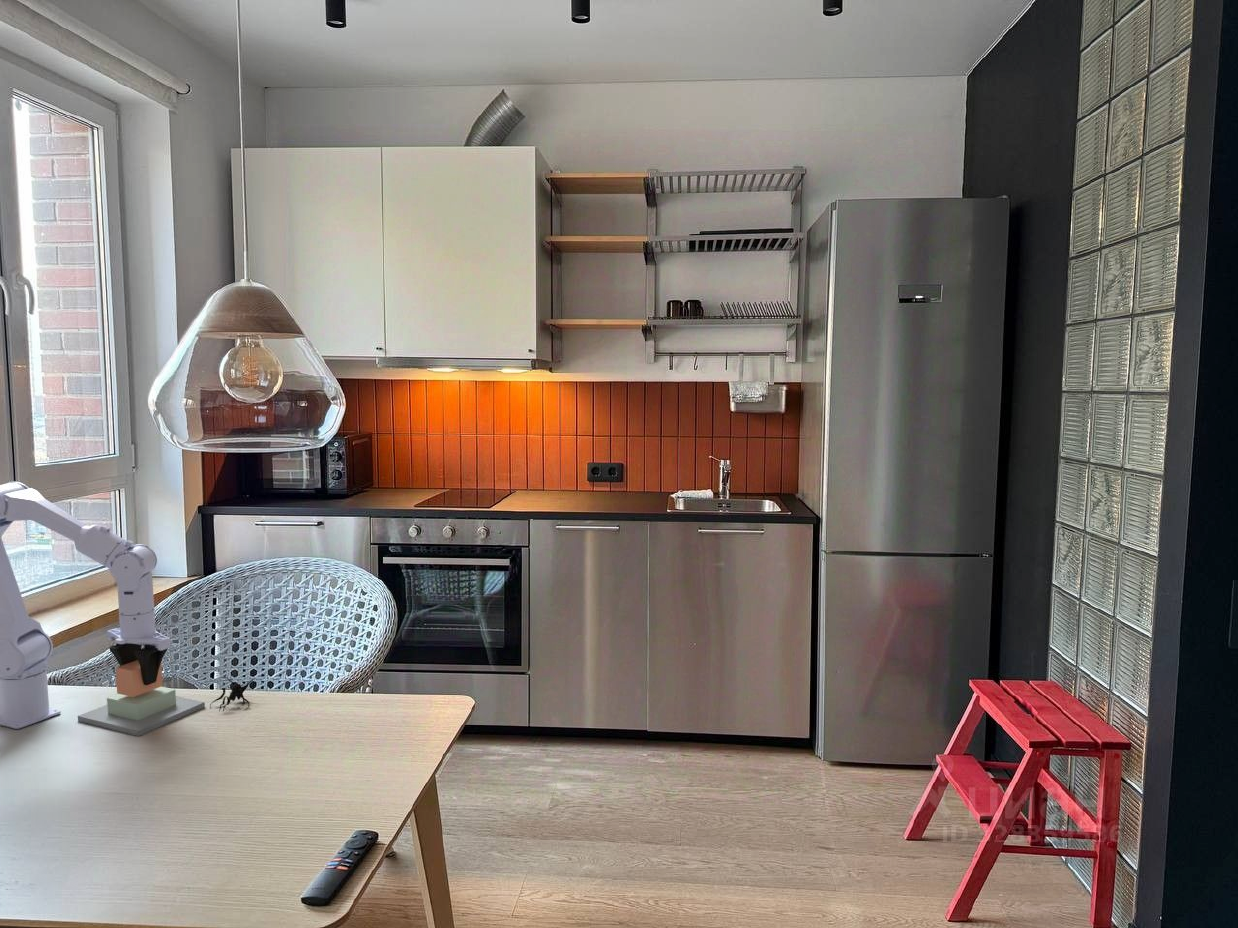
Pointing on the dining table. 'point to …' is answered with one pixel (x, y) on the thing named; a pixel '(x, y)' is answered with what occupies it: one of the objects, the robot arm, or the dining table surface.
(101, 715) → the tower base
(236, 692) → the creature
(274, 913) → the dining table surface
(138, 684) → the top brick
